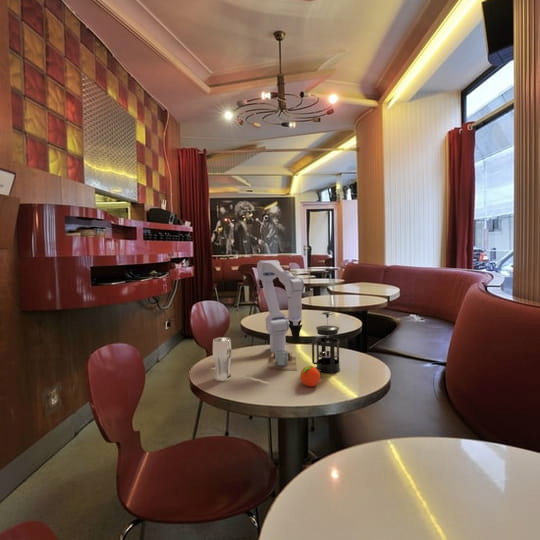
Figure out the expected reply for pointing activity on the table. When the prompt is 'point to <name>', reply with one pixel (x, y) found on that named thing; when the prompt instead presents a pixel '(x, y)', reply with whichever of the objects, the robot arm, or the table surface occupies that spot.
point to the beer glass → (222, 358)
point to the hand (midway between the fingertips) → (295, 338)
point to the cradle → (272, 367)
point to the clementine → (310, 376)
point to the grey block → (281, 358)
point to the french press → (327, 356)
